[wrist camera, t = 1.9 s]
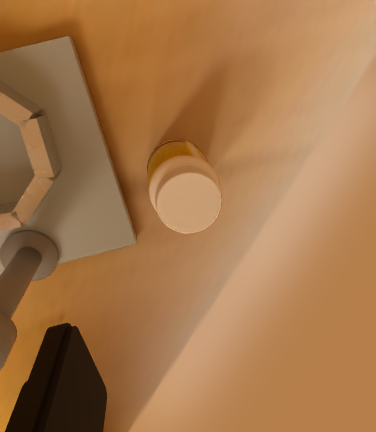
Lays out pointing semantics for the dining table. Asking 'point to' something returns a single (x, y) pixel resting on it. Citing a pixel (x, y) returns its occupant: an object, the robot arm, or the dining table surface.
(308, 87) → the dining table surface
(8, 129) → the board
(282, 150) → the dining table surface
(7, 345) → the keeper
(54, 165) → the socket
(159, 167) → the supplement bottle
